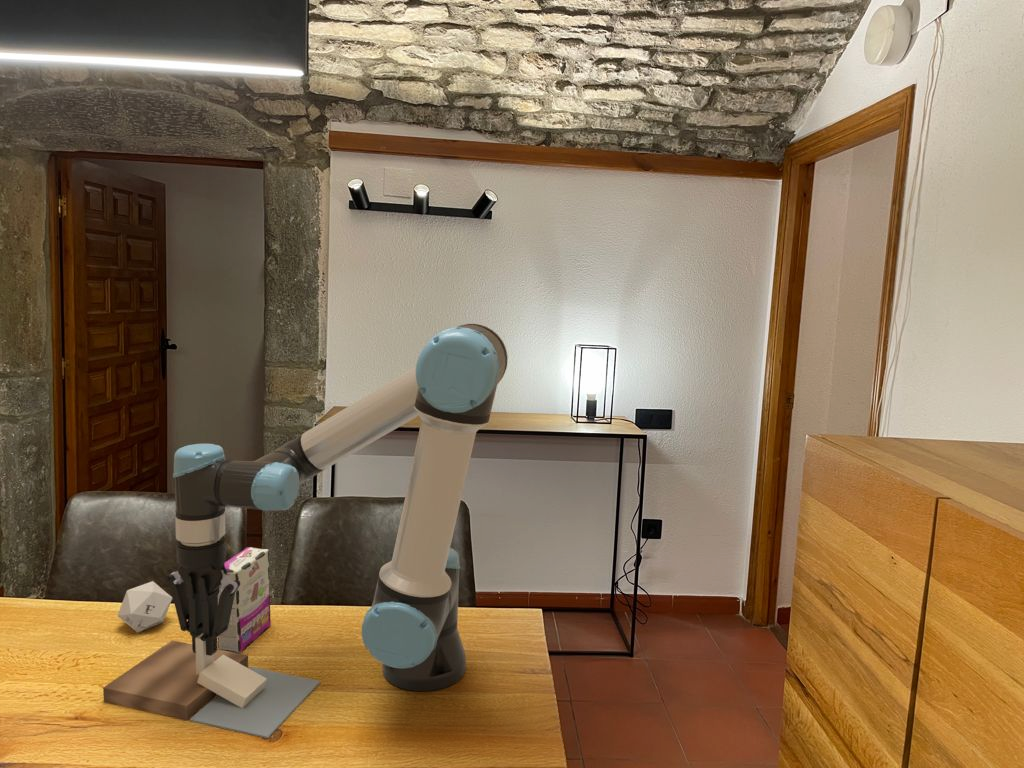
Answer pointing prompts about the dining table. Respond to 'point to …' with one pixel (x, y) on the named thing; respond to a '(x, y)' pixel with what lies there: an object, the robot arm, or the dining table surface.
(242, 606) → the candy bar box
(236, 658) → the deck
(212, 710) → the mat
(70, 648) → the dining table surface
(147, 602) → the die
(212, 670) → the cream rectangular tile
